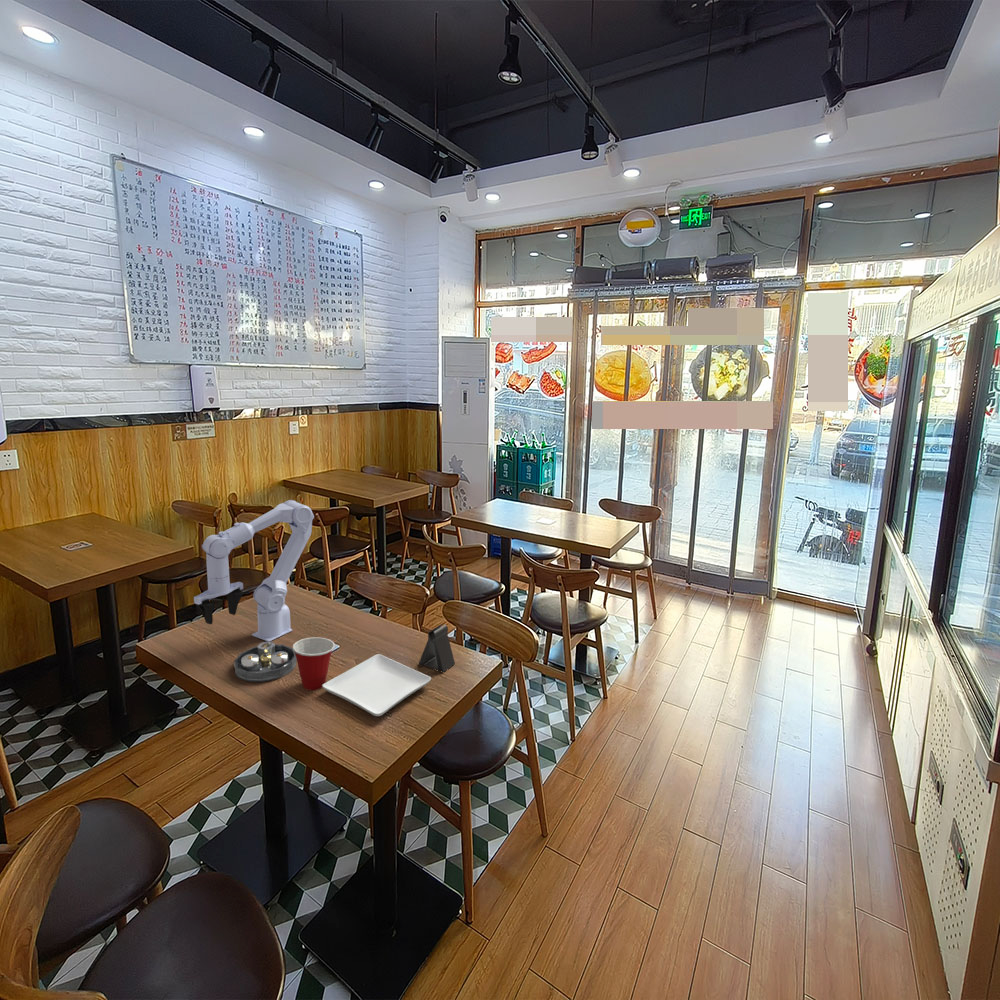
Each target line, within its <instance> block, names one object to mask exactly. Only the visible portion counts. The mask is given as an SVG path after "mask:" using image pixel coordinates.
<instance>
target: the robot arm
mask: <svg viewBox="0 0 1000 1000" xmlns="http://www.w3.org/2000/svg"><path fill="white" fill-rule="evenodd" d="M314 519H315V515H314V513H313V511H312V508H311V507H309V506H308V505H305V504H302V503H300V502H298V501H296V500H293V499H289V500H286V501H285V502H281V503H279V504H277V505H276V506H275V508H273V509H271V510H269V511H268V512H266V513H264V514H262V515H260V516H259V517H257V518H255V519H253V520H251V521H250V522H248V523H247V522H243V521H242V522H235V523H234V524H233V525H234V526H232V527H230V528H228V529H226V530H224V531H222V530H221V531H219V532H218V534H211V535H209V536H207V537H206V538H205V539H204V541H203V544H201V548H202V550H203V551H204V552H205V553H206V554H205V555H206V558H205V559H206V575H207V590H205V591H203V592H202V593H200V594H198V595H195V596H193V604H195V605H196V607H197V608H198V609H199V610H200V611H201V614H202V616H203V618H204V621H205V624H208V625H212V624H213V623H214V622H213V621H214V618H213V611H214V607H215V603H213V602H211V601H210V600H213V599H215V598H217V597H218V598H219V597H221V596H225V595H226V599H227V607H228V609H227V610H228V613H229V614H230V615H233V616H235V615H236V614H237V610H238V605H239V603H240V600H241V599H242V597H243V595H244V592H243V591H242V590H244V583H243V582H241V581H237V582H232V583H231V581H230V566H229V565H230V564H229V555H230V553H231V552H232V550H234V549H235V548H237V547H240V546H241V545H243V544H244V543H246V542H249V541H250V540H252V539H253V538H254V535H255V534H256V533H258V532H260V531H262V530H264V529H266V528H268V527H270V526H272V525H275V524H277V523H287V524H288V525H289V526H290V530H291V532H292V533H291V534H290V537H289V538H288V541H287V543H286V544H285V546H284V548H283V550H282V552H281V554H280V556H279V558H278V560H277V561H276V563H275V566H274V567H273V569H272V572H271V573H270V576H268V577H267V578H264V579H263V580H262V582H261V584H260V585H259V586H257V587H256V589H255V590H254V591H253V596H252V597H253V599H254V601H255V602H256V603H257V608H256V612H257V615H256V616H257V617H256V618H257V631H256V632H254V633H252V634H251V636H253V637H255V638H257V639H261V640H263V641H265V642H273V640H276V639H278V638H279V637H282V636H284V635H286V634H288V633H290V632H293V629H292V628H291V611H290V608H289V606H288V605H287V604H286V603H285V602H286V595H287V594H288V587H287V583H288V581H289V579H290V577H291V575H292V573H293V571H294V569H295V567H296V565H297V563H298V561H299V559H300V557H301V555H302V553H303V552H304V549H305V547H306V546H307V543H308V541H309V539H310V537H311V536H312V532H313V531H312V530H313V520H314Z"/></svg>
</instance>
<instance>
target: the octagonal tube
mask: <svg viewBox="0 0 1000 1000" xmlns="http://www.w3.org/2000/svg"><path fill="white" fill-rule="evenodd" d="M256 647H258V656H259V659H261V657H260V656H261V655H262V654H264V653H269V654H271V655H272V654H273V653H275V643H274V642H273V641H269V642H268V641H265V642H261V643H260V642H259V644H258V645H257V646H256Z"/></svg>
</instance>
